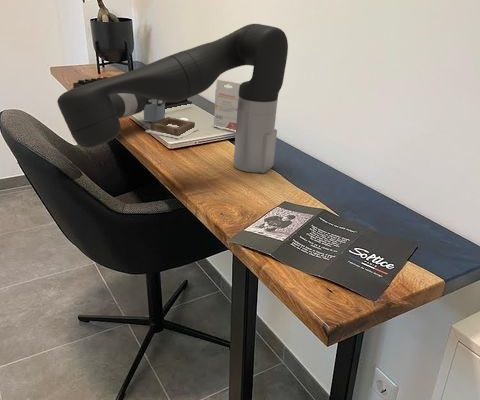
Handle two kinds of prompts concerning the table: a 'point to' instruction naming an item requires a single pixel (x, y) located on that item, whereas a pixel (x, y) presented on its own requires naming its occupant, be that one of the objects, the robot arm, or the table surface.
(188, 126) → the brown square frame
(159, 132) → the mat
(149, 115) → the grey rectangular bar
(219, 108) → the ink cartridge box
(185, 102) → the computer keyboard
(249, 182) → the table surface
